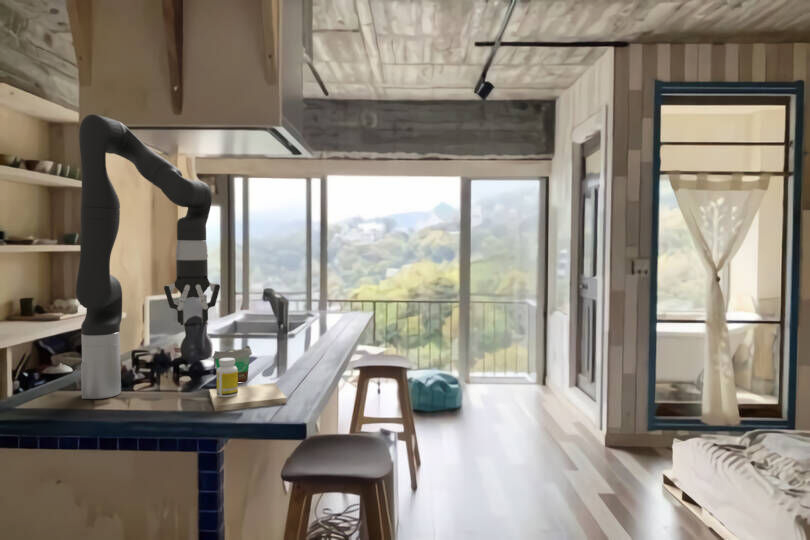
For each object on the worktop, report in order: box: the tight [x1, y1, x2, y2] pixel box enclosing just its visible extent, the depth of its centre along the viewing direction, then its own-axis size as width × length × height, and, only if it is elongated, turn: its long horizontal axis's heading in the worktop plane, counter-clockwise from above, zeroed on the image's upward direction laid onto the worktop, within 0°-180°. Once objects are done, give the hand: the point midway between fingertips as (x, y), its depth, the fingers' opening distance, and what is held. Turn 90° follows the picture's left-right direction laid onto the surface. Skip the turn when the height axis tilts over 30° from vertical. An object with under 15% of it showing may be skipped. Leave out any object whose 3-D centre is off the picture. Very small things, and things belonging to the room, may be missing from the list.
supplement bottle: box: [216, 358, 239, 398], centre depth 149 cm, size 5×5×10 cm
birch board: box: [208, 382, 288, 412], centre depth 151 cm, size 18×16×2 cm
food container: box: [213, 344, 253, 383], centre depth 168 cm, size 12×6×10 cm, turn 143°
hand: (192, 323), depth 145 cm, fingers open, 4 cm apart
